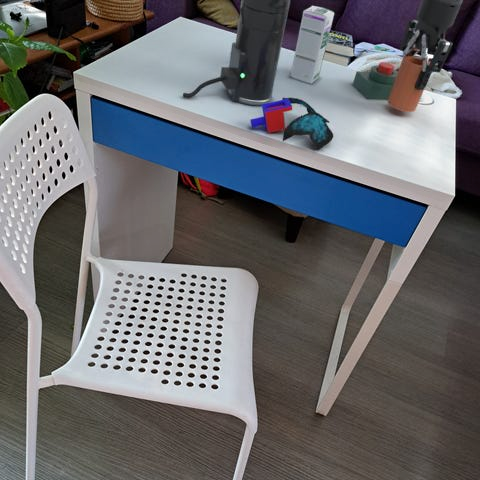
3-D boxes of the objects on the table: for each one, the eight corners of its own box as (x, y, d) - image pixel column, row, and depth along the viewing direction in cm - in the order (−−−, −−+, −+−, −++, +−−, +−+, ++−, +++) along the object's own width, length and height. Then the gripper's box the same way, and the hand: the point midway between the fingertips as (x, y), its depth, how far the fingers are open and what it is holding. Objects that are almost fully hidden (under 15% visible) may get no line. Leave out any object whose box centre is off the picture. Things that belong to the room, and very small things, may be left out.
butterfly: (339, 145, 92) (295, 116, 88) (322, 166, 95) (279, 139, 92) (331, 107, 104) (293, 80, 100) (316, 127, 107) (278, 101, 104)
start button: (381, 75, 117) (383, 67, 116) (374, 69, 119) (376, 61, 118) (394, 76, 118) (397, 68, 117) (387, 70, 120) (389, 62, 119)
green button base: (367, 98, 118) (374, 77, 114) (352, 84, 123) (359, 63, 119) (402, 100, 121) (410, 78, 118) (387, 86, 126) (394, 65, 123)
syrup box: (311, 84, 119) (328, 16, 108) (288, 77, 120) (303, 8, 109) (318, 77, 123) (336, 11, 112) (296, 70, 124) (311, 4, 113)
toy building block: (290, 119, 99) (251, 128, 99) (288, 98, 96) (247, 107, 96) (294, 127, 97) (254, 136, 97) (292, 105, 94) (250, 115, 94)
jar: (396, 111, 111) (413, 67, 104) (382, 98, 115) (398, 54, 109) (420, 112, 113) (439, 68, 106) (406, 99, 117) (423, 56, 111)
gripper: (409, -17, 102) (380, 68, 114) (448, 6, 93) (412, 95, 105) (439, -13, 104) (408, 70, 116) (480, 9, 95) (441, 96, 107)
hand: (410, 81), depth 110 cm, fingers closed on jar, 6 cm apart
